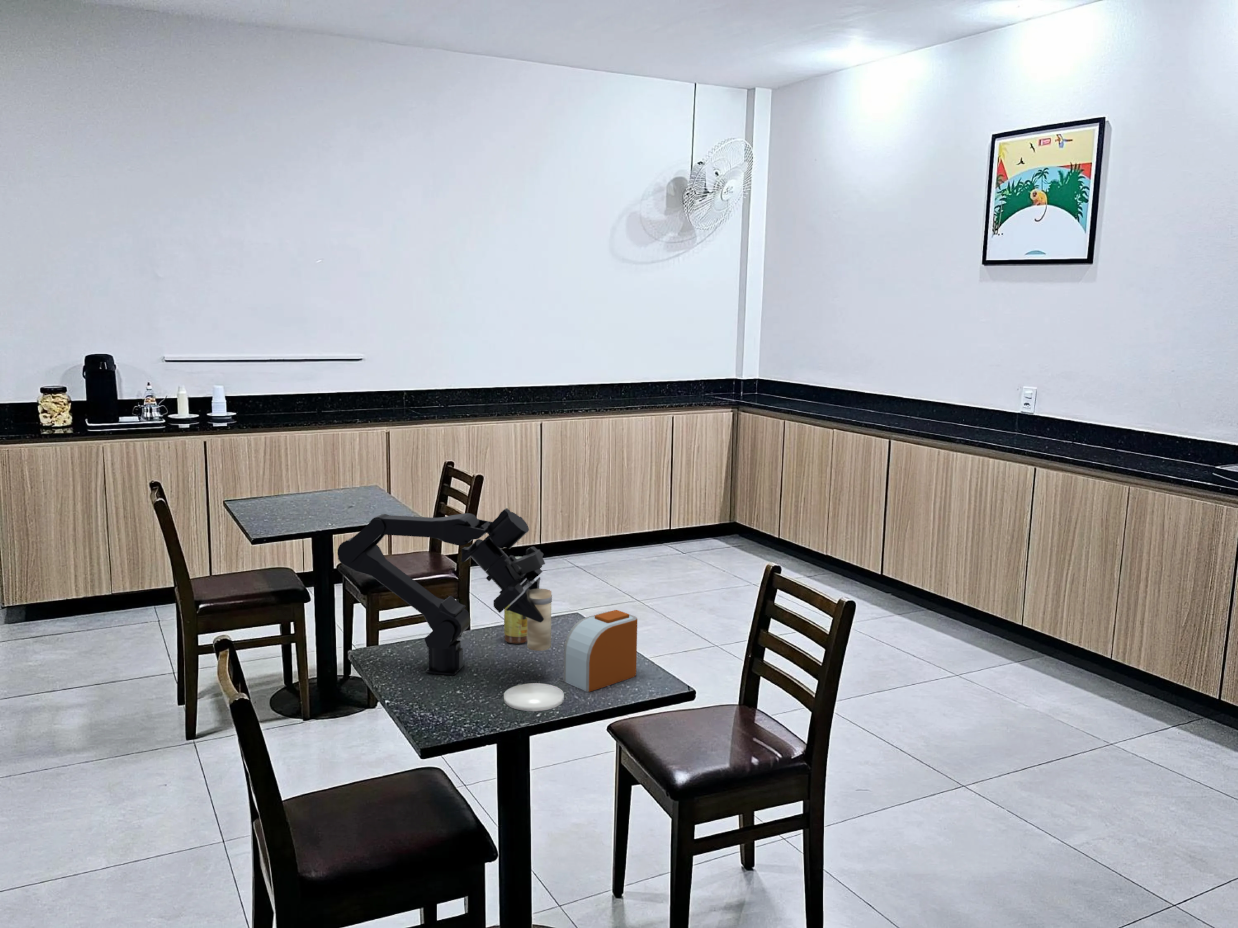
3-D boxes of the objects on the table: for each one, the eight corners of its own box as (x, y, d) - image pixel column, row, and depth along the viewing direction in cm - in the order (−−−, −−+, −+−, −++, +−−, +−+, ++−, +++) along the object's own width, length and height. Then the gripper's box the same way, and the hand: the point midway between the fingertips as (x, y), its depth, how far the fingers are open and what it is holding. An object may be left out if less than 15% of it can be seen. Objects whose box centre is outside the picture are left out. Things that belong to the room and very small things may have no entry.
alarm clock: (613, 664, 222) (614, 605, 220) (640, 675, 216) (641, 614, 214) (562, 680, 212) (562, 619, 210) (588, 692, 206) (589, 629, 204)
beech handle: (523, 649, 210) (524, 594, 208) (530, 641, 215) (530, 587, 213) (548, 651, 209) (548, 596, 207) (554, 643, 214) (554, 589, 212)
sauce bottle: (526, 645, 233) (526, 562, 230) (500, 643, 234) (500, 561, 231) (534, 636, 239) (534, 556, 236) (509, 634, 240) (509, 554, 237)
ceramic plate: (496, 708, 197) (496, 703, 197) (513, 685, 208) (513, 680, 208) (555, 713, 195) (555, 708, 195) (569, 690, 206) (569, 685, 206)
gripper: (508, 548, 200) (561, 605, 200) (533, 528, 218) (582, 580, 218) (471, 584, 203) (523, 640, 202) (498, 561, 221) (546, 613, 221)
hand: (545, 617), depth 211 cm, fingers closed on beech handle, 5 cm apart
